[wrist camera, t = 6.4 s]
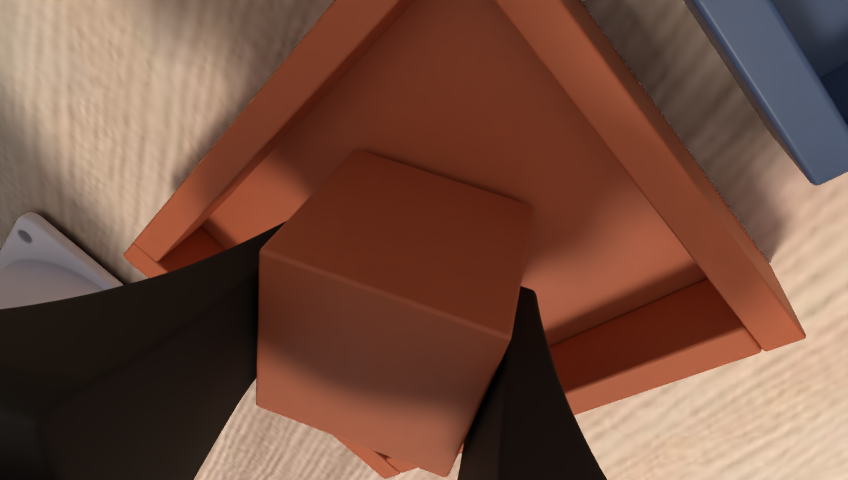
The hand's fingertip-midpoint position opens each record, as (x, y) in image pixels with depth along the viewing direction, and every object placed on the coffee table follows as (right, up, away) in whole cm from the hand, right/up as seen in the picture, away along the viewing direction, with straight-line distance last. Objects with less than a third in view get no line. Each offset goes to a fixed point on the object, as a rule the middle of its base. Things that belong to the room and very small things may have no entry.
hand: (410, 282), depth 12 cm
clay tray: (+1, +1, +2) cm, 2 cm away
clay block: (0, +1, +1) cm, 1 cm away
